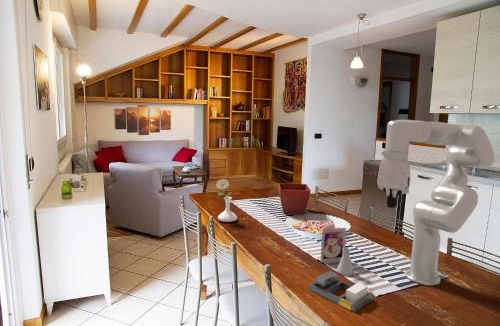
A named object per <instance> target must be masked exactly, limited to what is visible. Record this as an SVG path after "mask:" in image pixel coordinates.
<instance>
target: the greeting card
mask: <svg viewBox="0 0 500 326" xmlns="http://www.w3.org/2000/svg"><path fill="white" fill-rule="evenodd" d="M335 225H336V224H335V223H332V224H331V225H329V226H327V227H325V228H323V229H322V230H321V231H322V233H321V249H320V263H330V262H338V261H339V262H340V261H341V258H342V255H343V250H342V249H343V248H346V235H347V227H342V228H341V227H339V228H335Z"/></svg>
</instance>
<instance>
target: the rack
mask: <svg viewBox="0 0 500 326" xmlns="http://www.w3.org/2000/svg"><path fill="white" fill-rule="evenodd" d="M353 285H354V284H353ZM353 285H352V284H350V283H348V282H345V281H343V280H341V279H339V278H338V273H337V272H336V273H335V272H333V271H332V270H328V271H326V272H323V273H322V274H320V275H317V276H316V280H314V281H313V282H311V283H309V284H308V290H309V291H311V292H313V293H315V294H317V295H319V296H320V297H323V298H325V299H327V300H329V301H331V302H333V303H335V304H337V305H339V306H341V307H343V308H345V309H347V310H349V311H351V312H352V313H356V312H357V311H358V310H360V309H361V308H363V307H365V306H366V305H368V304H369V303H371V302H372V301H373V300H374V294H373V293H371V292H369V291H367V296H366V297H364V298H363V299H361V300H360V301H358V302H357V303H355V304H353V303H351V302H349V301H347V300H346V292H344V293H343V294H341V295H339V296H337V295H335V294H333V293H335V292H336V291H338V290H340V289H344V290H347V289H348V288H350V287H352V286H353Z"/></svg>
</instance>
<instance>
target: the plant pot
mask: <svg viewBox="0 0 500 326" xmlns="http://www.w3.org/2000/svg"><path fill="white" fill-rule="evenodd" d="M278 193H279V200H280V205H281V210H282V212H283V214H284V215H304V214H305V211H306V210H307V206H308V203H309V200H310V195H311V189H310V187H309V186H308V184H307V183H291V182H289V183H286V182H285V183H284V182H283V183H282V182H279V183H278Z"/></svg>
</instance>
